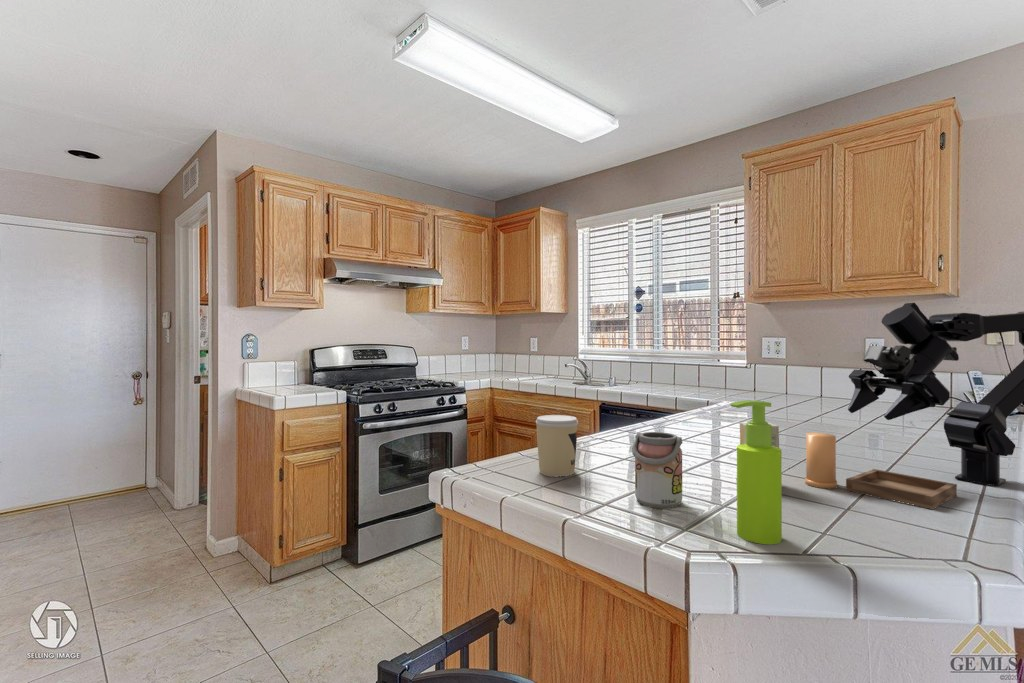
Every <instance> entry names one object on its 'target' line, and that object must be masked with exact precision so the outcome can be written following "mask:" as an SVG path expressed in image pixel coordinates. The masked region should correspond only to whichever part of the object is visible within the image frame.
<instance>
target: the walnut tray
mask: <svg viewBox="0 0 1024 683" xmlns="http://www.w3.org/2000/svg"><path fill="white" fill-rule="evenodd" d="M957 485H958V484H957V483H953V482H945V481H941V480H937V479H936V480H935V479H930V478H924V477H920V476H915V475H914V476H913V475H909V474H903V473H899V472H891V471H887V470H882V469H876V468H873V469H871V470H867V471H864V472H862V473H860V474H857V475H854V476H850V477H847V478H846V479H845V486H846V487H845V490H846V491H847V490H848V492H851V491H853V492H852V493H856V492H858V493H857V494H860V493H863V494H862V495H865V494H868V495H867V496H869V495H872V496H871V497H874V496H876V497H875V498H878V497H880V498H879V499H883V498H886V499H885V500H887V499H890V500H889V501H891V500H895V501H894V502H896V501H900V502H904V503H903V504H905V503H909V504H914V505H917V506H916V507H918V506H922V507H925V508H924V509H927V508H930V509H929V510H931V509H932V510H934V509H936V508H937V506H938V507H940V506H941V505H943V504H945V503H946V501H947V502H948V500H949V501H951V500H953V499H954V498H955V496H956V497H957V496H958V495H957V492H958V490H957V488H958V487H957ZM900 502H899V503H900ZM944 502H945V503H944ZM942 503H943V504H942ZM909 504H908V505H909ZM914 505H913V506H914ZM939 505H940V506H939ZM922 507H921V508H922ZM935 507H936V508H935ZM933 508H934V509H933Z"/></svg>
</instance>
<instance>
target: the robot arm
mask: <svg viewBox="0 0 1024 683" xmlns="http://www.w3.org/2000/svg"><path fill="white" fill-rule="evenodd" d="M881 325H883V326H884V328H886V329H887V330H888V332H889V333H890V334H891V335H892V336H893V337H894V338H895V339H896V340H897V342H898V343H899V344H902V345H894V347H892V346H884V345H870V346H869V347H868V349H867V350H866V353H865V355H864V358H863V361H864V362H866V363H870V364H872V365H874V366H876V367H878V368H877V369H876V371H878V372H879V374H882V375H883V376H878V375H877V374H876V373H875V372H874V371H873V370H869V369H868V370H867V369H853V370H852V371H851V372H850V374H848V378H849V379H850V380H851V383H852V384H853V385H854V390H853V391H854V392H853V394H852V396H851V400H850V402H849V405H848V407H847V410H848V411H849V412H850V414H853V413H855V412H858V411H860V410H862V409H863V408H865V407H867V406H869V405H870V404H872V403H874V402H875V401H877V400H879V399H880V397H879V396H881V395H883V394H884V393H885V392H886V391H887V390H886V389H888V390H889V389H890V390H895V391H897V392H901V393H900V395H899V396H898V397H897V398H896V399H895V401H894V402H893V403H892V404H891V406H890V407H889V408H888V409H887V410H886V412H885V414H884V415H883V417H884V418H885V419H886V420H887V421H891V420H893V419H896V418H899V417H902V416H905V415H908V414H912V413H914V412H917V411H921V410H925V409H929V408H935V407H936V406H943V407H944V405H946V403H947V402H948V401H949V400H950V398H951V397H950V396H951V395H950V394H951V391H950V390H949V389H948V388H947V387H946V386H945V385H944V384H943V383H942V382H941V381H940V379H938V377H936V376H937V374H936V373H935V372H934V370H935V369H936V368H937V367H939V365H940V364H941V363H942V362H943V361H953V362H954V361H955V362H956V361H957V362H958V361H959V359H960V358H959V353H958V352H957V351H958V350H957V349H958V348H957V347H956V346H951V345H950V344H949V342H969V341H973V340H976V339H979V338H982V337H983V336H985V335H988V334H996V333H999V334H1000V333H1011V332H1017V333H1018V342H1019V343H1020V344H1021V345H1022V346H1023V347H1024V311H1019V312H1016V313H1004V314H1003V313H1002V314H994V315H993V314H992V315H991V314H990V315H981V314H980V313H979V314H978V313H969V312H957V313H956V312H955V313H937V314H932V315H930V316H929V317H928V318H927V316H926V315H925V314H924V313H923V312H922V310H921V309H920V306H918V305H917V304H916V302H907V303H906V302H905V303H904V304H903V305H902V306H899V307H896V308H895V309H893V310H891V311H890V312H887V313H886V314H885V315H884V316H883V317H882V318H881ZM906 345H910V346H909V347H907V346H906ZM1022 351H1023V354H1024V348H1023V349H1022ZM1023 403H1024V359H1022V361H1021V362H1020V363H1019V364H1017V365H1016V366H1015V367H1014V368H1013V369H1012V370H1011V371H1010V372H1009V373H1008V374H1007V375H1006V376H1005V377H1004V378H1003V379H1001V381H1000V382H998V383H997V385H995V386H994V387H993V388H992V389H991V390H990V391H989V392H988V393H986V395H985V396H984V397H982V399H980V400H979V401H978V402H975V403H974V402H964V401H961V402H959V403H957V405H956V406H955V407H954V408H953V409H952V410H951V411H949V412H946V415H947V417H946V418H945V419H944V422H943V430H944V433H945V436H946V438H947V439H946V440H947V442H948V444H949V446H950V447H952V448H958V449H960V453H961V454H960V455H961V456H960V458H961V459H960V465H961V466H960V473H959V474H957V475H954V479H956V480H960V481H967V482H971V483H975V484H983V485H986V486H987V485H989V486H992V487H993V486H994V487H999V486H1001V485H1002V484H1004V483H1006V481H1007V479H1006V478H1002V477H1000V476H1001V474H1000V472H1001V470H1000V469H1001V466H1000V465H1001V463H1000V462H1001V460H1000V459H1001V457H1008V456H1013V454H1014V451H1015V448H1016V444H1015V443H1014V442H1013V441H1012V439H1010V438H1009V437H1008V435H1006V432H1007V430H1008V428H1007V418H1008V417H1010V415H1011V414H1012V413H1013V412H1014V411H1015V410H1016V409H1017V408H1019V406H1020V405H1022V404H1023Z"/></svg>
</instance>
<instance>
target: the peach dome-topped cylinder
mask: <svg viewBox="0 0 1024 683" xmlns="http://www.w3.org/2000/svg"><path fill="white" fill-rule="evenodd" d="M836 437H837V436H836V435H834V434H831V433H825V432H806V433H805V438H806V439H805V446H806V447H805V449H806V450H805V457H806V459H805V460H806V461H805V470H806V474H805V477H804V483H805V485H807V484H808V485H807V486H809V485H810V487H812V486H814V488H817V487H820V488H819V489H824V488H834V489H837V488H838V481H837V466H836V465H837V462H836V460H837V458H836V457H837V454H836V453H837V451H836V448H837V447H836V446H837V445H836V444H837V442H836V441H837V439H836ZM836 487H837V488H836Z"/></svg>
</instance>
